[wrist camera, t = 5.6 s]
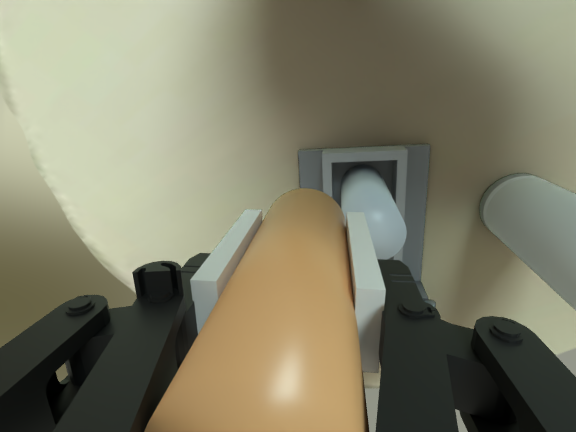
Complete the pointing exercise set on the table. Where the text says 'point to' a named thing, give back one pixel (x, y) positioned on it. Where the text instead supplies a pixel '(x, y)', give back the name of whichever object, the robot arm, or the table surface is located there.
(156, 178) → the table surface
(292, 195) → the orange capsule
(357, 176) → the ball
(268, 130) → the table surface
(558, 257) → the travel mug
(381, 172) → the housing
